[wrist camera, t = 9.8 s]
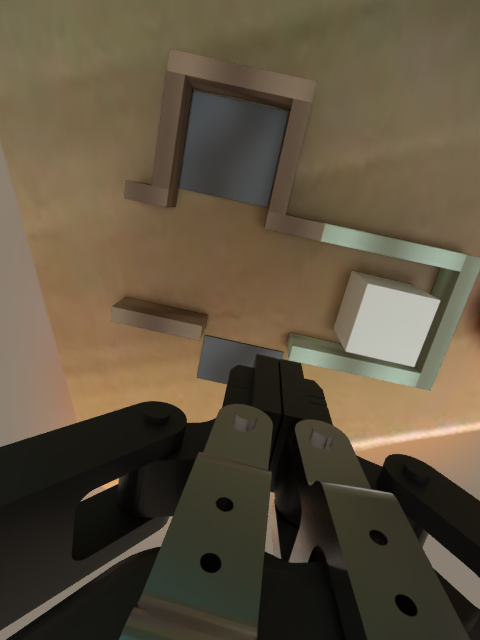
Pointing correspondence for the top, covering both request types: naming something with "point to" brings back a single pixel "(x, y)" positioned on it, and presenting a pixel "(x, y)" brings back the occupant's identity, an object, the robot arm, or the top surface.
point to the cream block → (384, 318)
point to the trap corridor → (270, 210)
